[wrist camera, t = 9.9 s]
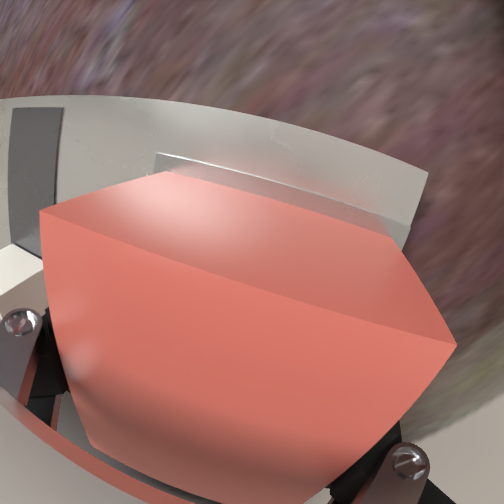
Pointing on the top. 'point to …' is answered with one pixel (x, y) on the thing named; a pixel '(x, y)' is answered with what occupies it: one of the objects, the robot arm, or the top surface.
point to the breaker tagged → (21, 281)
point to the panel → (188, 161)
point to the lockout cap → (233, 335)
